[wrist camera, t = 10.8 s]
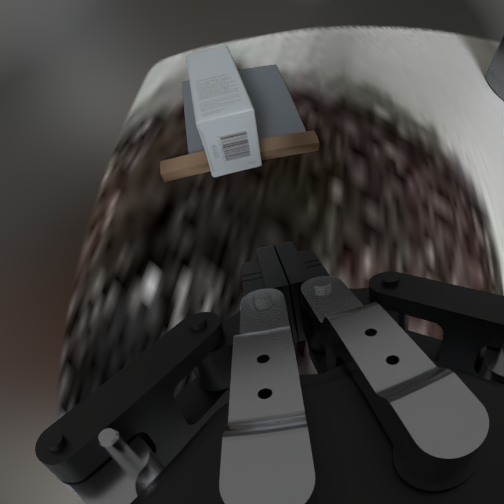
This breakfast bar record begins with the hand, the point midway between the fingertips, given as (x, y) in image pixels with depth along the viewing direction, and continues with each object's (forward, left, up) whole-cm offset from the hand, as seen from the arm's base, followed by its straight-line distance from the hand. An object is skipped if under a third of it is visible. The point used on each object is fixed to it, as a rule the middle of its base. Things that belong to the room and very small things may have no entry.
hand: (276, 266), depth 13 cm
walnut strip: (0, -14, -10) cm, 17 cm away
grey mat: (-1, -21, -10) cm, 24 cm away
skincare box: (+1, -11, -5) cm, 13 cm away
